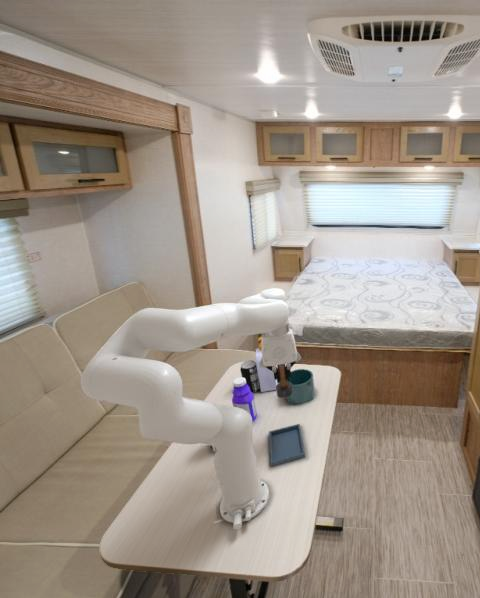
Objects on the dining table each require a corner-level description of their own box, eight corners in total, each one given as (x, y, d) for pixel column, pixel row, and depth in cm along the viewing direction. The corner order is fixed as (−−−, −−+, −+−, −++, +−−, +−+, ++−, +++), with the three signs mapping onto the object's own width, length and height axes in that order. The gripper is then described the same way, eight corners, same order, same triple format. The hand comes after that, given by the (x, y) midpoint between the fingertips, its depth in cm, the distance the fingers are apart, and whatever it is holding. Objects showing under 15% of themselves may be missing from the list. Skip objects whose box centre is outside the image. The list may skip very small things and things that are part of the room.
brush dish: (305, 457, 110) (304, 453, 109) (271, 467, 106) (270, 462, 105) (300, 427, 122) (299, 423, 121) (269, 435, 118) (269, 431, 118)
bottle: (260, 415, 128) (253, 376, 121) (252, 425, 123) (244, 385, 116) (242, 413, 128) (233, 374, 122) (233, 424, 123) (224, 384, 117)
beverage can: (245, 385, 145) (240, 361, 140) (262, 382, 146) (257, 358, 142) (243, 394, 139) (238, 369, 134) (261, 391, 141) (256, 367, 136)
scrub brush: (293, 396, 111) (290, 366, 108) (277, 399, 110) (273, 370, 106) (292, 387, 116) (288, 359, 112) (276, 390, 114) (272, 362, 110)
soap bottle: (279, 389, 142) (271, 341, 133) (261, 392, 140) (252, 343, 131) (280, 377, 150) (272, 331, 141) (263, 380, 148) (254, 333, 139)
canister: (317, 400, 136) (314, 381, 132) (287, 407, 132) (284, 388, 128) (312, 384, 145) (310, 366, 142) (285, 390, 141) (282, 372, 138)
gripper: (247, 338, 98) (256, 391, 105) (304, 329, 104) (310, 380, 110) (248, 327, 105) (256, 378, 111) (301, 320, 110) (306, 369, 117)
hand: (283, 379), depth 111 cm, fingers closed on scrub brush, 2 cm apart
